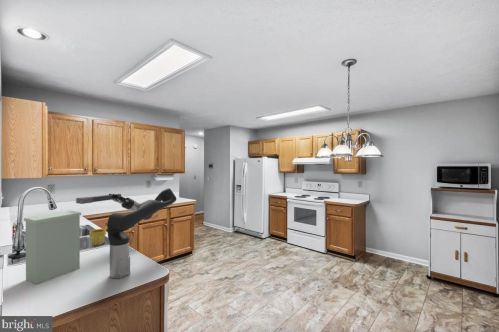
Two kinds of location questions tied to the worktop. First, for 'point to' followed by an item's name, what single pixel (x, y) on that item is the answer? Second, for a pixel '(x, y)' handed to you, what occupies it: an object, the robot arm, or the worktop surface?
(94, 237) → the plant pot
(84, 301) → the worktop surface
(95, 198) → the long gray t-shaped bar
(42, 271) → the tall capped green box
